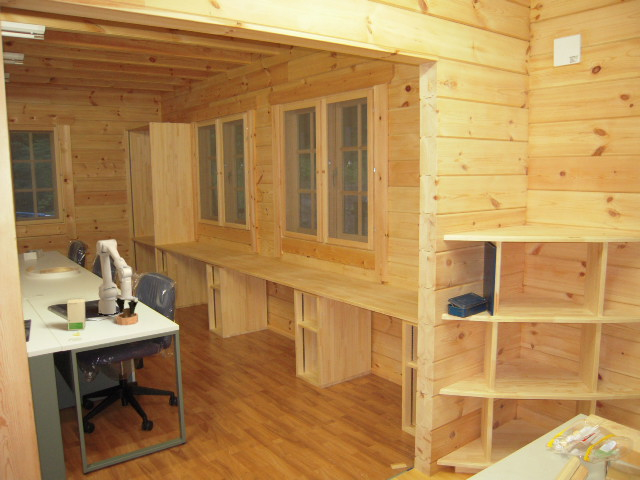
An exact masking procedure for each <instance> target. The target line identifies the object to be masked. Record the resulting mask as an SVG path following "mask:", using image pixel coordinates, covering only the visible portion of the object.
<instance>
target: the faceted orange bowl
mask: <svg viewBox="0 0 640 480" xmlns="http://www.w3.org/2000/svg"><path fill="white" fill-rule="evenodd" d="M115 317H116V324H117V325H119V326H131V325H135V324H137V323H138V322H139V314H138V313H137V312H134V314H131V317H129V318H123V312H120V313H118V314H116V316H115Z"/></svg>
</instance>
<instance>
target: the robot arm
mask: <svg viewBox="0 0 640 480" xmlns="http://www.w3.org/2000/svg"><path fill="white" fill-rule="evenodd" d="M95 248H96V254H97V255H98V256H99V261H100V266H101V267H100V268H101V276H102V284H100V286H99V287H98V298H99V301H98V313H102V314H114V313H116V312H117V307H118V309H119V313H123V309H125V302H126V301H128V302H127V304H128V308H130V314H134V313H135V311H136V308H137V304H138V303H139V301H138V300H139V298H138V297H135V296H133V293H132V292H133V291H132V290H133V289H132V277H133V276H134V270H133V267H131V266H130V265H128V264H127V262H126V261H125V259H124V258H123V257H121V256H120V254H119V252H118V243H117V240H116V239H114V238H112V239H111V238H110V239H102V240H97V242H96V245H95ZM110 256H111V257H112V259H113V260H114V261H113V265H114V266H115V268H116V270H117V274H118V275H117V276H118V280H119V282H120V291H119V289H118V286H117V284H116V283H115V282H113V277H112V270H111V260H110ZM119 293H120V294H119ZM116 306H117V307H116Z"/></svg>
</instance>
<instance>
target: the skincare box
mask: <svg viewBox="0 0 640 480" xmlns="http://www.w3.org/2000/svg"><path fill="white" fill-rule="evenodd" d="M66 305H67V306H66V310H67V331H68V332H69V331H85V328H86V299H83V298H82V299H81V298H78V299H75V298H74V299H68V300H67V303H66Z"/></svg>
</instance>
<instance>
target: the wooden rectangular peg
mask: <svg viewBox="0 0 640 480" xmlns="http://www.w3.org/2000/svg"><path fill="white" fill-rule="evenodd" d="M122 313H123V318H129V317H131V314H130V307H124V309H123V312H122Z"/></svg>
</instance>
